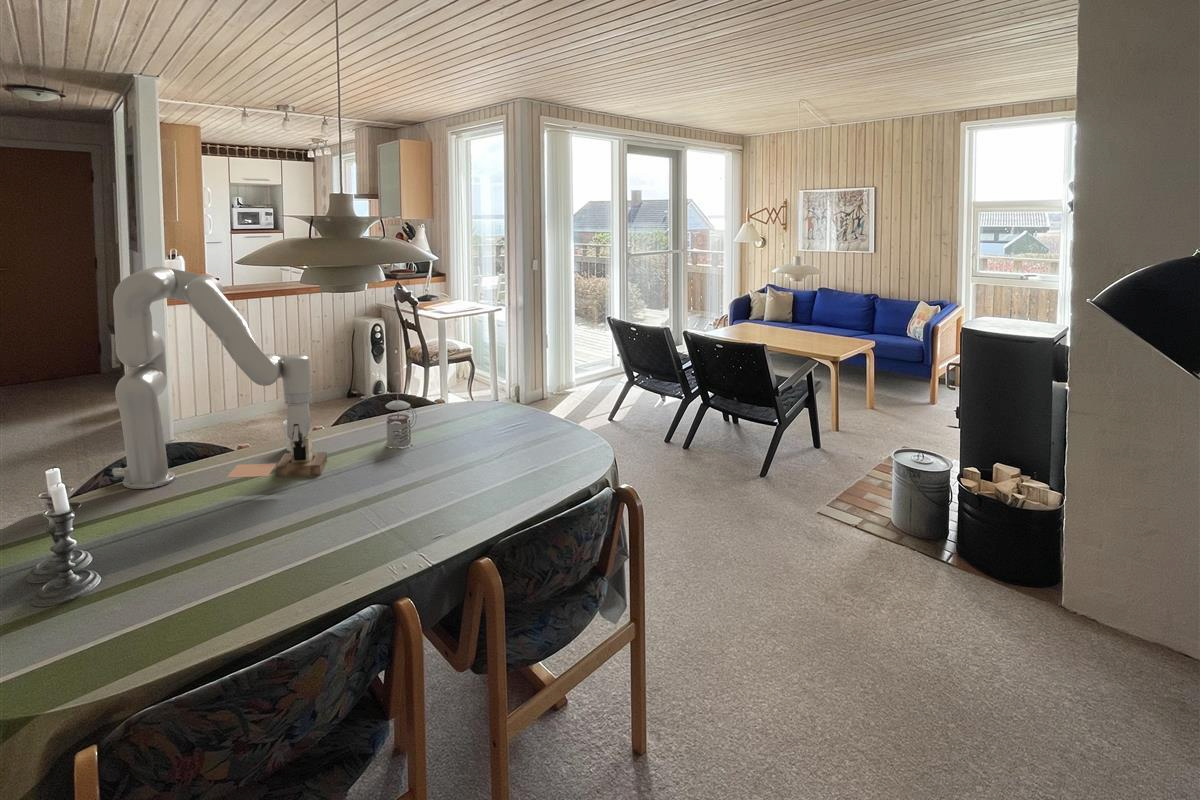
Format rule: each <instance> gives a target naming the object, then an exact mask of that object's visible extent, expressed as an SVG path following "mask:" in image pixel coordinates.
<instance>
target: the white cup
mask: <svg viewBox="0 0 1200 800" xmlns="http://www.w3.org/2000/svg"><path fill="white" fill-rule="evenodd" d="M282 426H283V436H284V443H285V448H286V451H288V452H291V447H290V439H291V438H288V436H287V419H286V420H284V421H283V422H282ZM310 430H311V429H310ZM310 430H309V432H308V434H311V431H310ZM292 436H293V435H292Z"/></svg>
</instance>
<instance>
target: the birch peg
mask: <svg viewBox="0 0 1200 800" xmlns="http://www.w3.org/2000/svg"><path fill="white" fill-rule="evenodd" d="M299 437H302V435H299ZM299 440H301V439H299ZM312 442H313V440H312V434H311V433H310V434H307V435H306V436H305V437H304V447H305V450H306V460H294V450H293V436H292V437H291V439H290V447H291V451H290V453H291V462H292V463H305V462H312V461H313V455H312V453H313V443H312Z"/></svg>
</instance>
